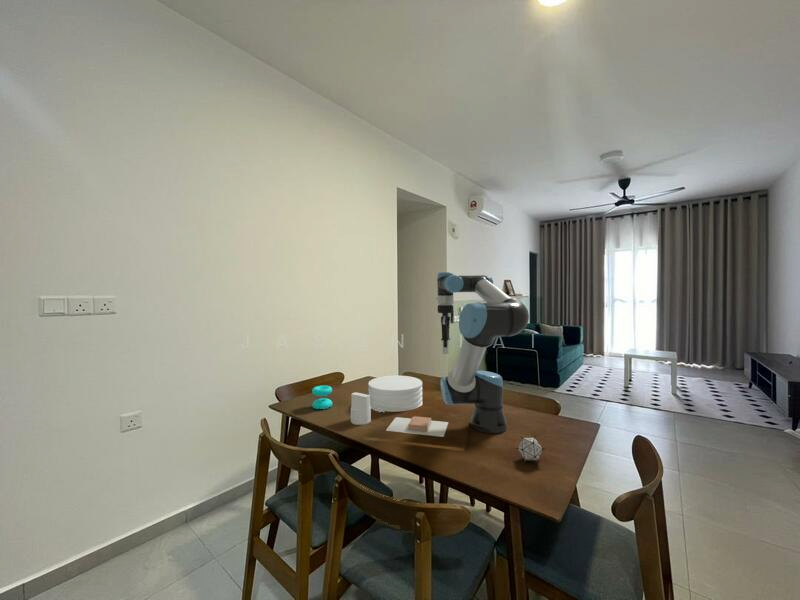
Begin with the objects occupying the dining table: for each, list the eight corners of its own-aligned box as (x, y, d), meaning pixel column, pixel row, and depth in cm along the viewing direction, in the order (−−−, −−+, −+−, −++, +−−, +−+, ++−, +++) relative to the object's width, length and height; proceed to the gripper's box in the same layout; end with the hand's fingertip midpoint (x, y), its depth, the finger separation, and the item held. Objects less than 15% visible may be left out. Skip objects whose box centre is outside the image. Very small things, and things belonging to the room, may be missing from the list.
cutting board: (448, 424, 144) (448, 422, 144) (443, 439, 130) (443, 436, 130) (395, 419, 151) (395, 417, 151) (385, 432, 136) (385, 430, 136)
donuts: (308, 387, 168) (324, 383, 175) (308, 407, 168) (325, 402, 175) (319, 391, 161) (336, 387, 168) (319, 411, 161) (336, 406, 168)
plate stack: (405, 418, 153) (404, 393, 152) (357, 407, 167) (357, 385, 167) (431, 400, 177) (431, 379, 176) (388, 392, 191) (387, 373, 191)
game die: (531, 468, 115) (542, 441, 118) (541, 472, 107) (553, 443, 110) (508, 454, 117) (519, 427, 120) (516, 456, 108) (528, 428, 112)
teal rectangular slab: (431, 417, 143) (427, 426, 134) (431, 423, 143) (427, 432, 134) (413, 416, 145) (408, 424, 137) (413, 421, 145) (408, 430, 137)
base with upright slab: (374, 419, 151) (374, 393, 151) (361, 426, 143) (361, 399, 143) (359, 415, 156) (359, 390, 156) (346, 421, 148) (346, 395, 148)
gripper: (439, 304, 165) (440, 351, 166) (435, 305, 153) (435, 355, 153) (454, 304, 163) (455, 351, 164) (451, 305, 151) (452, 356, 151)
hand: (445, 353), depth 159 cm, fingers closed
